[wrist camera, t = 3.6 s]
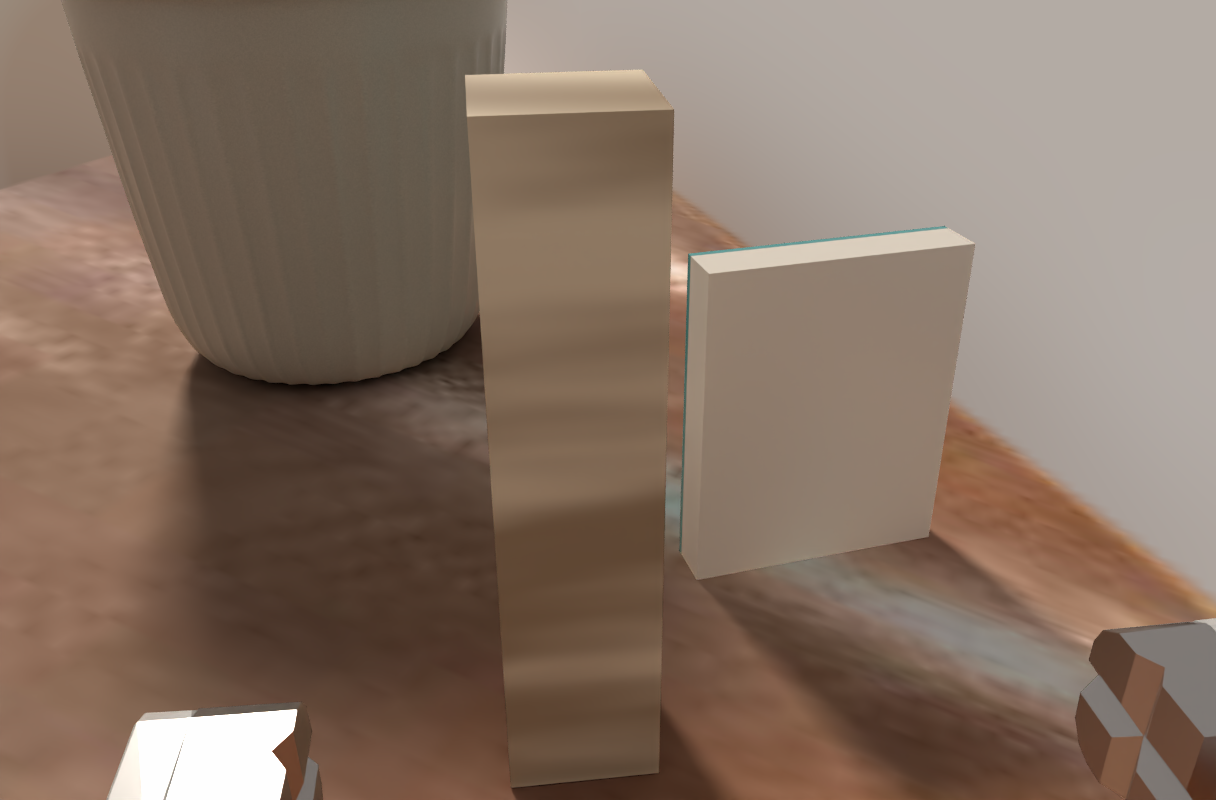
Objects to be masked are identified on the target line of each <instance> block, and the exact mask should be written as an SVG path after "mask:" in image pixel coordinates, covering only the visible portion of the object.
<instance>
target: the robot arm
mask: <svg viewBox="0 0 1216 800" xmlns="http://www.w3.org/2000/svg"><path fill="white" fill-rule="evenodd" d="M1089 661H1090V663H1091V664H1092V666H1093V667H1094V669H1095V670H1096V672H1097V673H1098V676H1097V677H1096V678H1095V679H1094V680H1093V681H1092V682H1091V683H1090V684H1089V685H1088V686H1087V687H1086V688H1085V689H1084V690H1083V691H1082V692H1081V693H1080V697H1079V702H1078V707H1077V712H1076V717H1075V719H1076V726H1077V734H1078V741H1079V745H1080V748H1081V750H1082V753H1083V755H1084V758H1085V760H1086V763H1087V765H1088V766H1089V768H1090V769H1091V771H1092V772H1093V774H1094V776H1095V777H1096V779H1097V780H1098V782H1099V783H1100V784H1102V785H1103V786H1105V787H1106V788H1108V789H1110V790H1111V791H1113V792H1115V793H1116V794H1118V795H1119V796H1121V797H1123V798H1124V799H1125V800H1216V618H1214V619H1205V620H1196V621H1194V622H1181V623H1171V624H1161V625H1150V626H1140V627H1130V628H1120V629H1110V630H1103V631H1102V632H1101V633H1100V634H1099V636H1098V637H1097V638H1096V639H1095V640H1094V643H1093V646H1092V650H1091V654H1090V657H1089ZM311 735H312V729H311V724H310V720H309V715H308V711H307V706H306V705H305V704H303V703H302V702H292V703H277V704H261V705H246V706H231V707H216V708H201V709H198V710H189V711H172V712H156V713H145V714H144V715H143V716H142V717H141V718H140V719H139V721H138V722H137V723H136V724H135V725H134V727H133V730H132V733H131V735H130V738H129V741H128V743H127V746H126V749H125V751H124V754H123V757H122V759H121V762H120V765H119V767H118V770H117V773H116V775H115V778H114V781H113V784H112V786H111V789H110V792H109V794H108V797H107V800H323V794H322V783H321V777H320V771H319V766H318V764H316V763H315V762H314V761H313V760H311V759H310V758H309V757H308V754H309V747H310V741H311Z"/></svg>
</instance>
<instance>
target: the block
mask: <svg viewBox="0 0 1216 800" xmlns="http://www.w3.org/2000/svg"><path fill="white" fill-rule="evenodd" d="M465 86H466V109H467V127H468V142H469V157H470V172H471V188H472V203H473V218H474V233H475V248H476V264H477V279H478V294H479V309H480V325H481V340H482V355H483V370H484V386H485V401H486V416H487V431H488V446H489V462H490V477H491V492H492V507H493V523H494V538H495V553H496V568H497V584H498V599H499V614H500V629H501V644H502V660H503V675H504V690H505V705H506V721H507V736H508V751H509V766H510V782H511V788H515V787H525V786H534V785H544V784H554V783H564V782H574V781H584V780H594V779H603V778H613V777H623V776H633V775H643V774H653V773H659V750H660V706H661V662H662V619H663V575H664V531H665V488H666V444H667V400H668V356H669V313H670V269H671V225H672V182H673V177H672V176H673V138H674V137H673V135H674V109H673V107H672V106H671V105H670V104H669V102H668V101H667V100H666V99H665V97H664V96H663V95H662V93H661V92H660V91H659V90H658V88H657V87H656V86H655V85H654V83H653V82H652V81H651V80H650V78H649V77H648V76H647V75H646V73H645V72H644V71H643V70H617V71H584V72H553V73H552V72H550V73H518V74H517V73H516V74H483V75H465Z"/></svg>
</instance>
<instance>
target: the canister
mask: <svg viewBox="0 0 1216 800" xmlns="http://www.w3.org/2000/svg"><path fill="white" fill-rule="evenodd" d="M61 2H62V5H63V8H64V11H65V14H66V17H67V21H68V24H69V27H70V30H71V33H72V36H73V39H74V42H75V46H76V49H77V52H78V55H79V58H80V61H81V64H82V67H83V70H84V73H85V76H86V79H87V82H88V84H89V87H90V90H91V93H92V96H93V99H94V101H95V105H96V108H97V110H98V113H99V116H100V119H101V122H102V125H103V128H104V131H105V134H106V137H107V140H108V143H109V146H110V149H111V152H112V155H113V158H114V161H115V164H116V167H117V170H118V173H119V176H120V179H121V181H122V184H123V187H124V190H125V193H126V196H127V199H128V202H129V204H130V207H131V210H132V213H133V216H134V219H135V221H136V224H137V227H138V230H139V232H140V235H141V238H142V240H143V243H144V246H145V249H146V251H147V254H148V257H149V259H150V262H151V265H152V267H153V270H154V273H155V275H156V278H157V281H158V283H159V286H160V289H161V291H162V294H163V297H164V299H165V301H166V304H167V306H168V309H169V311H170V313H171V315H172V317H173V319H174V321H175V323H176V324H177V326H178V327H179V329H180V330H181V332H182V333H183V334H184V336H185V337H186V339H187V340H188V341H189V343H190V344H191V345H192V346H193V347H194V349H195V350H197V351H198V352H199V353H200V354H201V355H202V356H204V357H205V358H207V359H208V360H209V361H210V362H212V363H213V364H215V365H216V366H218V367H220V368H223V369H226V370H227V371H229V372H231V373H233V374H235V375H243V376H245V377H247V378H249V379H254V380H265V381H267V382H269V383H287V384H289V385H293V384H294V385H296V384H309V385H318V384H325V383H328V384H338V383H341V382H347V381H353V382H354V381H360V380H362V379H367V378H376V377H380V376H381V375H384V374H388V373H395V372H400V371H401V370H402V369H405V368H409V367H413V366H417V365H419V364H420V363H421V362H422V361H426V360H429V359H433V358H434V357H436V356H437V355H438V353H441V352H443V351H446V350H448V349H449V348H450V347H451V346H452V345H453V344H454V343H456V342H457V341H459V340H460V339H461V338H462V337H463V336H464V334H465V333H466V331H467V330H468V329H469V328H470V327H471V326H472V324H473V323H474V321H475V320H476V318H477V316H478V313H479V311H480V309H479V294H478V279H477V264H476V248H475V233H474V218H473V203H472V188H471V172H470V157H469V142H468V127H467V109H466V86H465V75H483V74H504V59H505V44H506V18H507V0H61Z"/></svg>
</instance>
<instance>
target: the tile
mask: <svg viewBox="0 0 1216 800" xmlns="http://www.w3.org/2000/svg"><path fill="white" fill-rule="evenodd" d="M974 248H975V243H973V242H972V241H969V240H968V239H966V238H964V237H963V236H961V235H959V234H957V233H956V232H954V231H952V230H950V229H949V228H947V227H945V226H942V227H932V228H922V229H913V230H904V231H895V232H886V233H876V234H867V235H858V236H848V237H840V238H830V239H821V240H811V241H802V242H793V243H784V244H775V245H765V246H756V247H747V248H737V249H728V250H719V251H710V252H700V253H691V254H688V280H687V313H686V346H685V379H684V413H683V446H682V479H681V512H680V545H679V551H680V553H681V554H682V556H683V558H684V559H685V561H686V563H687V564H688V566H689V568H690V570H691V571H692V573H693V575H694V576H695V578H696V580H700V579H705V578H711V577H716V576H722V575H727V574H732V573H738V572H743V571H748V570H754V569H759V568H765V567H770V566H775V565H781V564H786V563H791V562H797V561H802V560H807V559H813V558H818V557H824V556H829V555H834V554H840V553H845V552H850V551H856V550H861V549H866V548H872V547H877V546H883V545H888V544H893V543H899V542H904V541H909V540H915V539H920V538H925V537H929V531H930V524H931V518H932V512H933V506H934V499H935V493H936V487H937V481H938V474H939V468H940V462H941V455H942V449H943V443H944V437H945V430H946V424H947V418H948V412H949V405H950V399H951V393H952V387H953V380H954V374H955V368H956V361H957V355H958V349H959V343H960V336H961V330H962V324H963V318H964V312H965V305H966V299H967V292H968V287H969V280H970V274H971V267H972V261H973V255H974Z"/></svg>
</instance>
